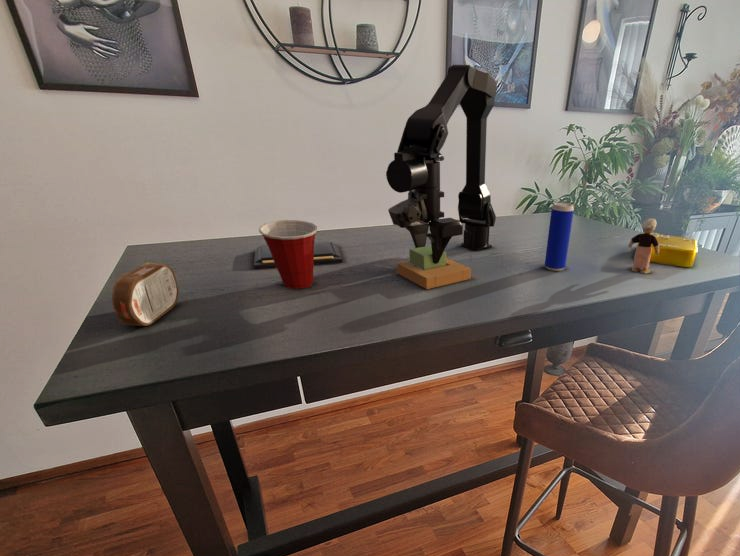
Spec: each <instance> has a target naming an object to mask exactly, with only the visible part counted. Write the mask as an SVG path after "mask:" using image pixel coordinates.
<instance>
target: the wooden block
mask: <svg viewBox="0 0 740 556" xmlns="http://www.w3.org/2000/svg"><path fill="white" fill-rule="evenodd" d="M396 264H397V266H396V267H397V268H396V269H397V274H398V275H399V276H401V277H403V278H405V279H407V280H409V281H411V282H412V283H414V284H416V285H418V286H419V287H422V288H423V289H425V290H429V289H434V288H438V287H443V286H447V285H451V284H455V283H460V282H463V281H468V280H471V276H472V275H471V272H472V269H471V267H468V266H466V265H463V264H461V263H459V262H457V261H455V260H452V259H450V258H448V257H446V266H441V267H436V268H431V269H426V270H423V269H421V268H419V267H417V266H415V265H413V264H411V263H410V262H407V261H401V262H397V263H396Z"/></svg>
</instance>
